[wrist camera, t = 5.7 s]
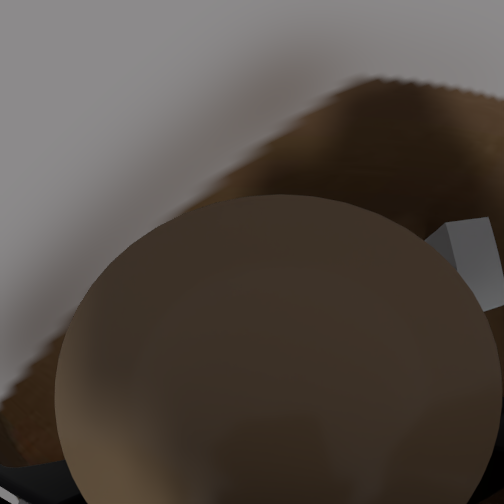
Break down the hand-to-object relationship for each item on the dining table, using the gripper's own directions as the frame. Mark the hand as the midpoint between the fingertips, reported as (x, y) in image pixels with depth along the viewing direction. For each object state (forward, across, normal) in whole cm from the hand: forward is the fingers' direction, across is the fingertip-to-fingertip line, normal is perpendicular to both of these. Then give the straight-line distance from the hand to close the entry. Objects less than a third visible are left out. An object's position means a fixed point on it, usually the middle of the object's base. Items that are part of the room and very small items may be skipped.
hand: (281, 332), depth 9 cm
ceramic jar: (+4, 0, +6) cm, 7 cm away
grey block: (+9, -13, +6) cm, 17 cm away
